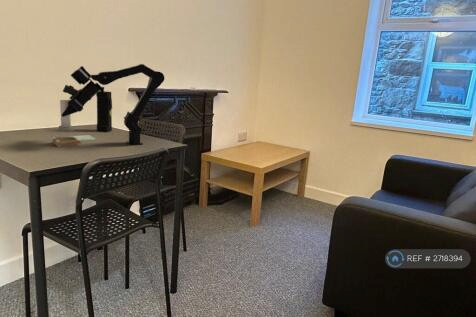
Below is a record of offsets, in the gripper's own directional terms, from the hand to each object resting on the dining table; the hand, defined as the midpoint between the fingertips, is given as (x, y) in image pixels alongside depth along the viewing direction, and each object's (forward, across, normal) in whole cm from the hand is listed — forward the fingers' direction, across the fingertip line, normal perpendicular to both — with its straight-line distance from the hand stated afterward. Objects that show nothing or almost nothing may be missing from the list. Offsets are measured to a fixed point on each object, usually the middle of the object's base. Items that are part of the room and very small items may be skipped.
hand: (62, 115), depth 159 cm
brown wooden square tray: (+9, 0, +10) cm, 13 cm away
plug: (+4, 0, +6) cm, 7 cm away
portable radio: (-5, -34, +24) cm, 42 cm away
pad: (+4, -12, +15) cm, 20 cm away
